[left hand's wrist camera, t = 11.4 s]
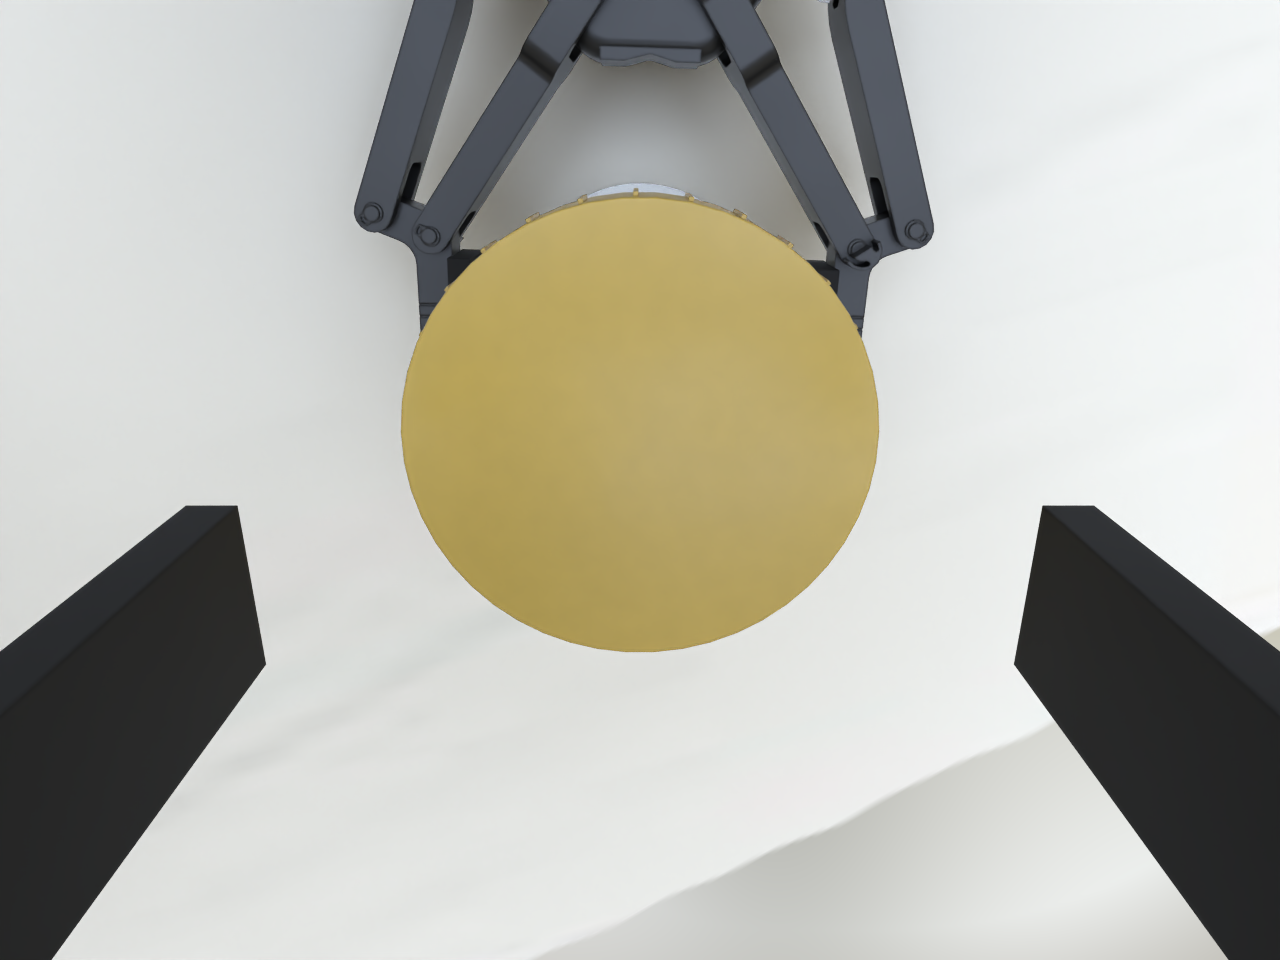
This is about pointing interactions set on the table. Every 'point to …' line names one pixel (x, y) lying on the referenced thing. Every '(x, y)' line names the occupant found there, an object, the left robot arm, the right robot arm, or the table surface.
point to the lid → (640, 422)
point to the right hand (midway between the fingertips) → (638, 441)
